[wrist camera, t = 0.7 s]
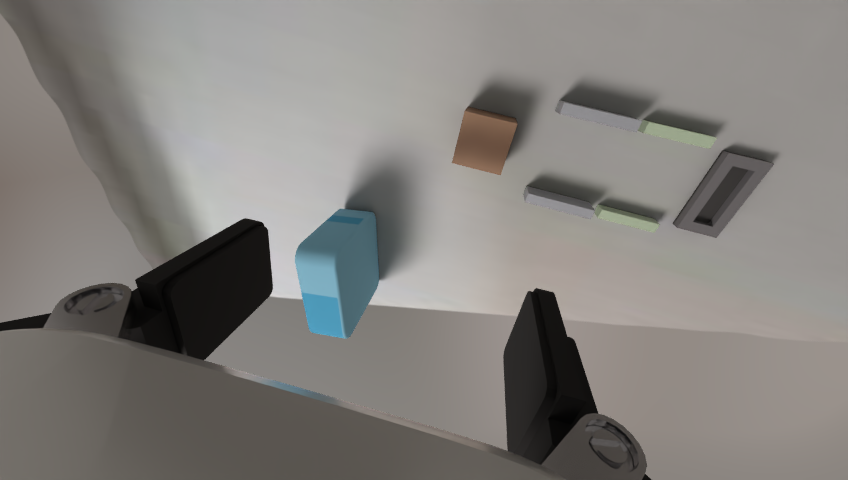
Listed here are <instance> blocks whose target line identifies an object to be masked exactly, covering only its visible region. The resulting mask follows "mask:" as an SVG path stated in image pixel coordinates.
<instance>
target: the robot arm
mask: <svg viewBox="0 0 848 480" xmlns="http://www.w3.org/2000/svg"><path fill="white" fill-rule="evenodd" d="M135 281H136V284H137V287H138V288H137V289H135V290H134V291H131V289H130V288H129V287H128V286H126V285H123V284H117V283H106V284H98V285H93V286H89V287H86V288H83V289H80V290H77V291H75V292H73V293H71V294H69V295H68V296H66V297H64V298H63V299H62V300H60V301H59V303H58V304H57V305H56V306H55V308H54V310H53V311H52V313H50V314H44V315H39V316H34V317H28V318H23V319H18V320H13V321H8V322H2V323H0V480H651V479H650V478H649V477H648V476H647V475H646V474H645V472H646V467H647V463H646V458H645V454H644V452H643V450H642V448H641V446H640V444H639V443H638V442H637V440H636V439H635V438H634V436H633V435H632V434H631V433H630V432H629V431H628V430H627V429H626V428H625V427H624V426H622V425H621V424H619V423H618V422H616V421H615V420H614V419H612V418H609V417H607V416H605V415H601V414H598V411H597V408H596V405H595V402H594V399H593V396H592V393H591V389H590V387H589V383H588V380H587V377H586V374H585V371H584V368H583V365H582V362H581V358H580V355H579V352H578V349H577V346H576V343H575V341H574V340H573V339H572V338H570V337H567V334H566V331H565V327H564V324H563V321H562V317H561V314H560V310H559V307H558V304H557V300H556V297H555V294H554V293H553V292H550V291H545V290H541V289H537V288H536V289H535V290H534V291H533V292H531V291H528V293H527V295H526V297H525V300H524V302H523V305H522V307H521V310H520V312H519V314H518V317H517V320H516V322H515V324H514V327H513V330H512V332H511V334H510V337H509V339H508V342H507V344H506V347H505V351H504V380H505V403H506V423H507V446H508V451H506V450H503V449H500V448H497V447H495V446H492V445H489V444H486V443H483V442H480V441H477V440H473V439H470V438H467V437H464V436H461V435H457V434H454V433H451V432H448V431H445V430H441V429H438V428H435V427H432V426H428V425H425V424H422V423H418V422H415V421H411V420H408V419H405V418H401V417H398V416H395V415H391V414H388V413H384V412H381V411H378V410H374V409H371V408H367V407H364V406H361V405H357V404H353V403H350V402H347V401H343V400H340V399H337V398H333V397H330V396H326V395H323V394H319V393H316V392H313V391H309V390H306V389H302V388H299V387H295V386H291V385H288V384H284V383H281V382H278V381H274V380H271V379H267V378H263V377H260V376H257V375H253V374H250V373H246V372H243V371H239V370H236V369H232V368H229V367H225V366H222V365H218V364H215V363H211V362H207V361H204V359H206V358H207V357H208V356H209V355H210V354H211V353H212V352H213V351H214V350H215V349H216V348H217V347H218V346H219V345H220V344H221V343H222V342H223V341H224V340H225V339H226V338H227V337H228V336H229V335H230V334H231V333H232V332H233V331H234V330H235V329H236V328H237V327H238V326H240V325H241V324H242V323H243V322H244V321H245V320H246V319H247V318H248V317H249V316H250V315H251V314H252V313H253V312H254V311H255V310H256V309H257V308H258V307H259V306H260V305H261V304H262V303H263V302H264V301H265V300H266V299H267V298H268V297H269V296H270V294H271V292H272V289H273V284H272V272H271V261H270V249H269V237H268V230H267V228H266V227H264V224H263V223H262V222H259V221H255V220H251V219H246V218H245V219H242V220H240V221H239V222H237V223H235V224H233V225H231V226H230V227H228V228H226V229H224V230H223V231H221V232H219V233H217V234H215V235H214V236H212V237H210V238H208V239H207V240H205V241H203V242H201V243H199V244H198V245H196V246H194V247H192V248H191V249H189V250H187V251H185V252H184V253H182V254H180V255H178V256H176V257H175V258H173V259H171V260H169V261H168V262H166V263H164V264H162V265H160V266H159V267H157V268H155V269H153V270H152V271H150V272H148V273H146V274H144V275H143V276H141V277H139V278H137V279H136V280H135Z"/></svg>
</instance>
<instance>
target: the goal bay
mask: <svg viewBox="0 0 848 480" xmlns="http://www.w3.org/2000/svg"><path fill="white" fill-rule="evenodd" d="M638 131H640V132H642V133H645V134H649V135H654V136H658V137H662V138H666V139H670V140H675V141H679V142H683V143H687V144H691V145H696V146H700V147H704V148H708V149H710V148H711V146H712V145H713V143H714V142H715V140H716V139H717V138H716V137H713V136H709V135H706V134H702V133H697V132H693V131H689V130H685V129H680V128H676V127H672V126H668V125H663V124H659V123H655V122H650V121H646V120H642V123H641V125H640V127H639V129H638ZM594 213H595V215H596V216H597V218H600V219H604V220H608V221H611V222H615V223H619V224H623V225H627V226H630V227H634V228H638V229H642V230H646V231H650V232H653V233H655V231H656V230H657V228H658V227H659V225H660V224H659V223H658V222H657V221H656V220H655V219H653V218H649V217H645V216H641V215H637V214H634V213H630V212H626V211H622V210H618V209H614V208H610V207H606V206H603V205H599V204H598V206H597V208H596V210H595V212H594Z"/></svg>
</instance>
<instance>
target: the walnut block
mask: <svg viewBox="0 0 848 480" xmlns="http://www.w3.org/2000/svg"><path fill="white" fill-rule="evenodd" d="M517 124H518V123H517V121H516V118H513V117H509V116H505V115H500V114H496V113H492V112H488V111H484V110H480V109H476V108H471V107H467V109H466V110H465V112H464V116H463V120H462V124H461V129H460V133H459V137H458V141H457V145H456V149H455V153H454V157H453V161H452V163H455V164H459V165H462V166H466V167H470V168H474V169H478V170H482V171H486V172H490V173H494V174H498V175H501V172H502V169H503V166H504V163H505V160H506V157H507V154H508V151H509V148H510V145H511V142H512V139H513V136H514V133H515V130H516V127H517Z"/></svg>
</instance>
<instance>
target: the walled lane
mask: <svg viewBox="0 0 848 480" xmlns="http://www.w3.org/2000/svg"><path fill="white" fill-rule="evenodd" d="M556 112H558V113H559V114H562V115H566V116H570V117H574V118H578V119H583V120H587V121H591V122H595V123H599V124H604V125H608V126H612V127H616V128H620V129H625V130H629V131H633V132H637V130H638V129H639V127H640V125H641V123H642V121H641V120H639V119H636V118H633V117H629V116H625V115H621V114H616V113H612V112H608V111H604V110H599V109H595V108H591V107H587V106H582V105H578V104H574V103H570V102H565V101H561V100H559V103H558V105H557V108H556ZM523 195H524V200H525V202H527V203H530V204H534V205H538V206H542V207H546V208H549V209H553V210H557V211H561V212H565V213H569V214H572V215H576V216H580V217H584V218H588V219H591V218H592V216H593V214H594V212H595V210H594V208H593V207H592V206H591V204H590V203H589V202H587V201H583V200H579V199H575V198H572V197H568V196H564V195H560V194H556V193H552V192H548V191H544V190H541V189H537V188H533V187H529V186H526V188H525V191H524V194H523Z"/></svg>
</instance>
